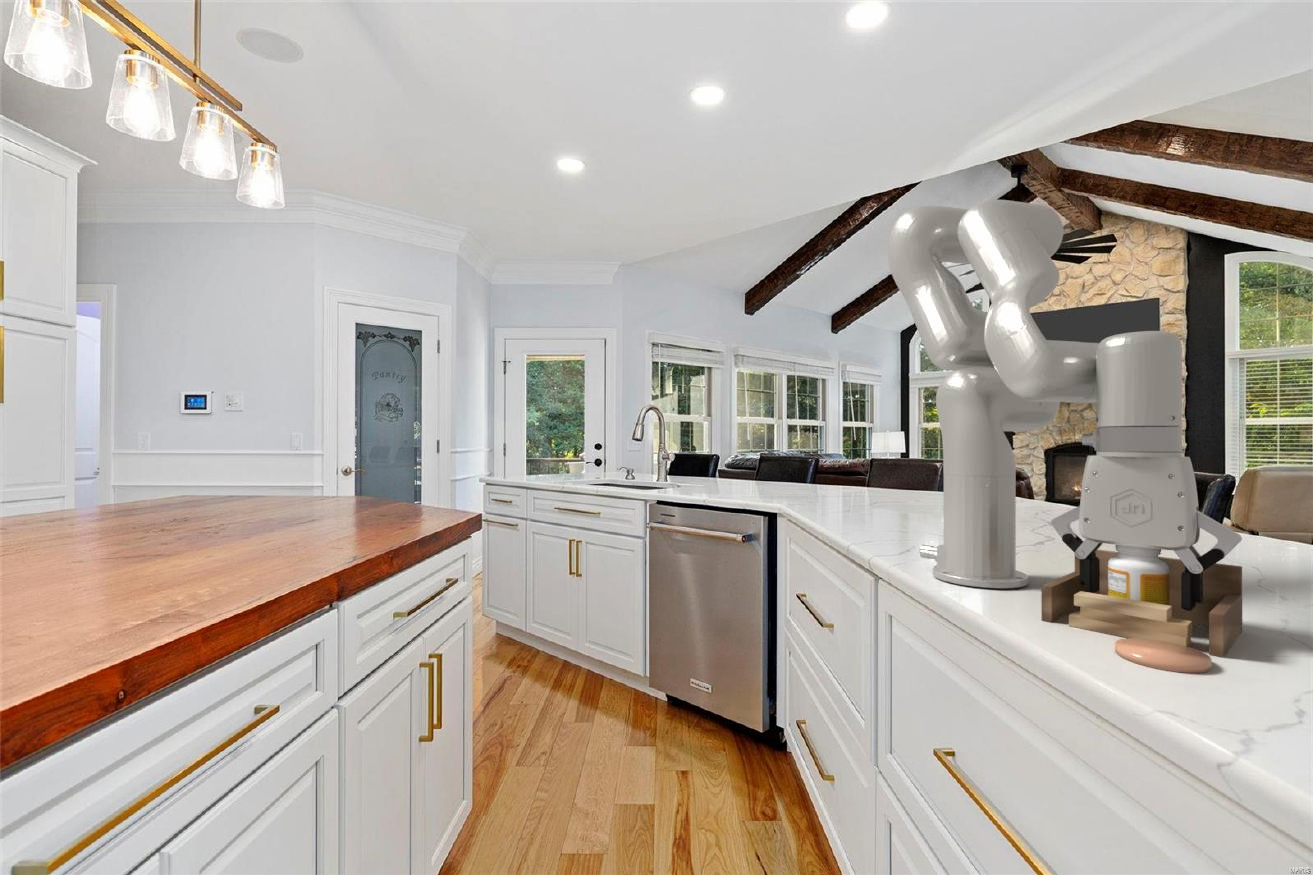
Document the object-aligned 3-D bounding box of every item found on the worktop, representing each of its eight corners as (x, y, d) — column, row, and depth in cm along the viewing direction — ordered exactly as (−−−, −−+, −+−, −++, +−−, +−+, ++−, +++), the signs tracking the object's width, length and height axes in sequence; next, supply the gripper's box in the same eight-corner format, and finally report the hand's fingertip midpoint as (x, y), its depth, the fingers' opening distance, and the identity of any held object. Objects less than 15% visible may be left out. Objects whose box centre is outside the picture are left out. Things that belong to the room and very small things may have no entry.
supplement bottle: (1171, 626, 68) (1171, 539, 68) (1167, 637, 64) (1166, 545, 64) (1112, 616, 71) (1112, 534, 71) (1104, 626, 68) (1104, 539, 68)
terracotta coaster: (1106, 657, 58) (1106, 648, 58) (1125, 641, 62) (1125, 633, 62) (1203, 679, 53) (1203, 670, 53) (1217, 660, 57) (1217, 652, 57)
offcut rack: (1041, 620, 70) (1041, 559, 70) (1077, 601, 78) (1077, 547, 78) (1223, 657, 58) (1222, 584, 58) (1242, 630, 66) (1242, 566, 66)
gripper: (1038, 443, 72) (1038, 590, 72) (1240, 444, 59) (1240, 624, 59) (1059, 443, 77) (1059, 581, 77) (1250, 444, 63) (1251, 611, 63)
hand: (1138, 599), depth 68 cm, fingers open, 8 cm apart
